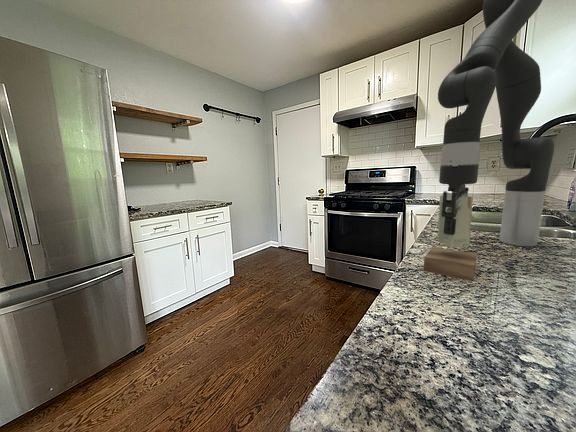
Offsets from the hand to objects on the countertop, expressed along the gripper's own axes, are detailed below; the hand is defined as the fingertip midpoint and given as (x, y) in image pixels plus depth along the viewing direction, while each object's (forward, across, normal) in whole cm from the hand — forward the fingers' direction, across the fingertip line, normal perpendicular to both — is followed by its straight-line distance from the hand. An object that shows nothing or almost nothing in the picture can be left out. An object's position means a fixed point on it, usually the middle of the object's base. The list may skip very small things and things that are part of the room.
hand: (453, 231), depth 61 cm
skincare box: (+4, 0, 0) cm, 4 cm away
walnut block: (+10, 0, 0) cm, 10 cm away
